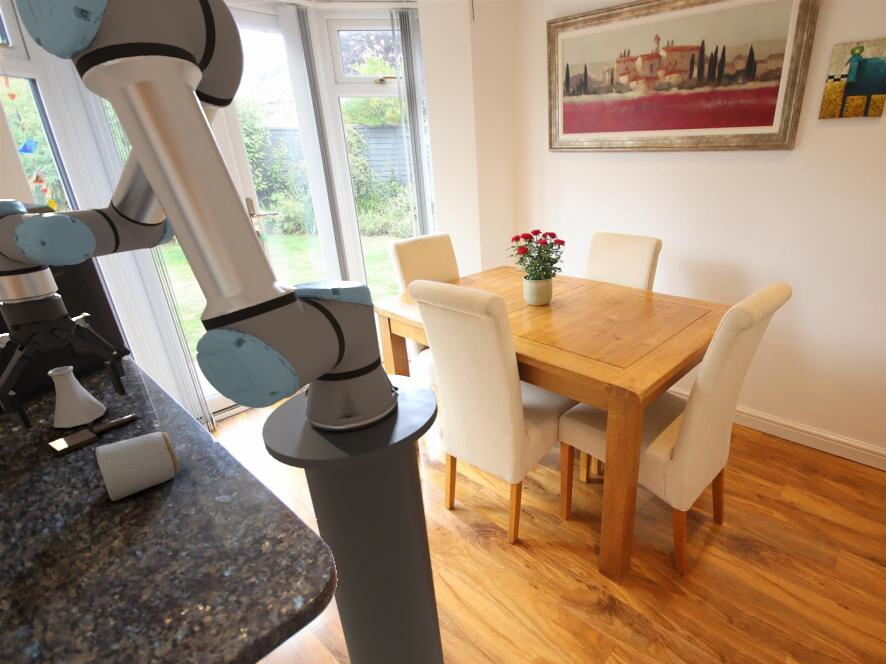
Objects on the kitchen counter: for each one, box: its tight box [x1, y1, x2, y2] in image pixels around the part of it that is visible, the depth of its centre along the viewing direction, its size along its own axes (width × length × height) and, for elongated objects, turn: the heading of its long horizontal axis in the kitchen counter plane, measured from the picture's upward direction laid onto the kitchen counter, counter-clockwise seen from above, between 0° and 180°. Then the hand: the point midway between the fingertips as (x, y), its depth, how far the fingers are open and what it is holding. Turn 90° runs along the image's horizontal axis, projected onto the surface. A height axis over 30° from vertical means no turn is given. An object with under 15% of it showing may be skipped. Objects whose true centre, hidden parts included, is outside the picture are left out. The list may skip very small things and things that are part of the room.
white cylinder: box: [95, 431, 181, 502], centre depth 66 cm, size 11×8×8 cm
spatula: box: [48, 413, 138, 456], centre depth 79 cm, size 12×4×1 cm, turn 149°
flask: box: [47, 365, 107, 429], centre depth 83 cm, size 7×7×10 cm
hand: (77, 409), depth 84 cm, fingers open, 13 cm apart
